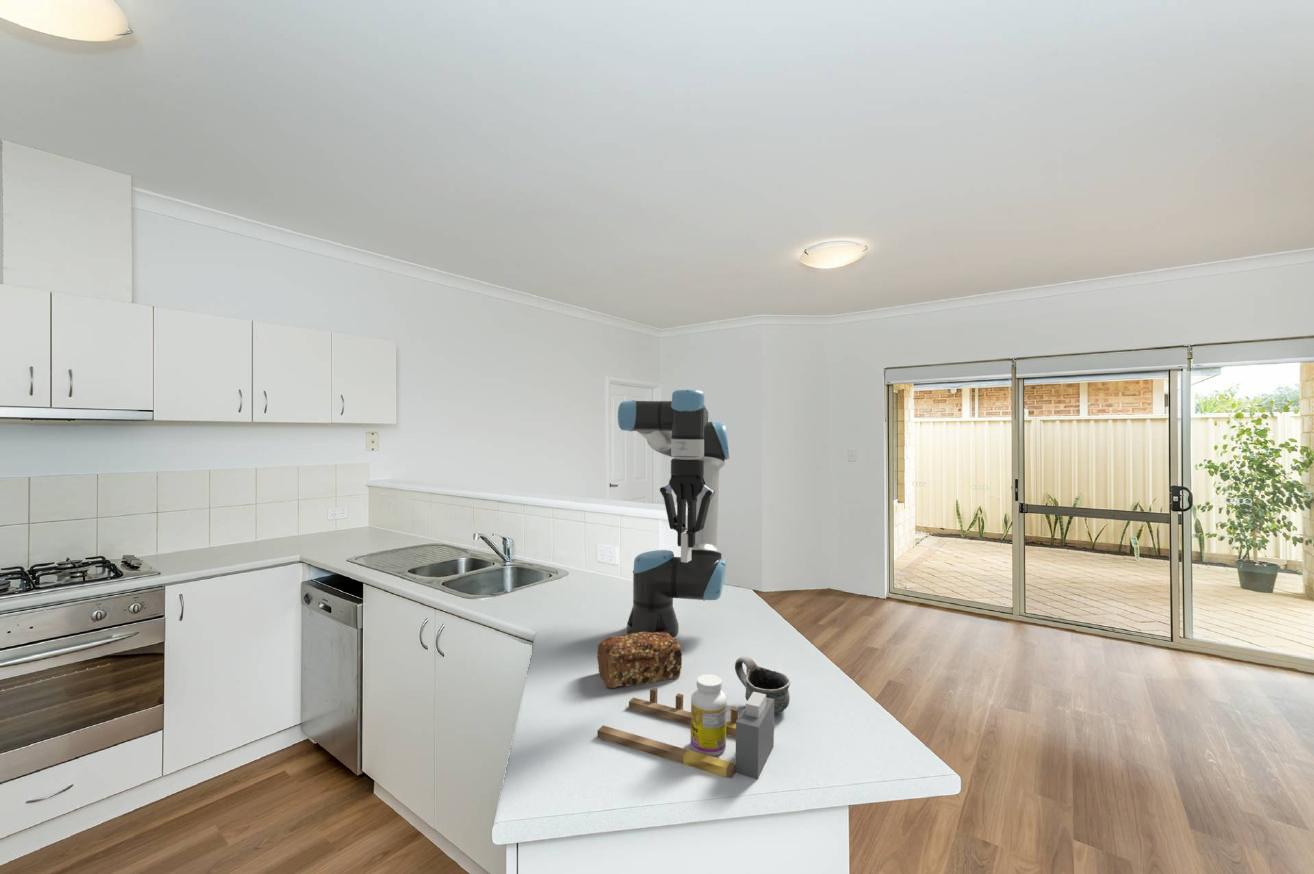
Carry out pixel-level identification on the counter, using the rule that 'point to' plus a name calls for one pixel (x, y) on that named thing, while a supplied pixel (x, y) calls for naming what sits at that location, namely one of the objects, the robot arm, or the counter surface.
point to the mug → (764, 682)
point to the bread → (638, 659)
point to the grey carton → (754, 735)
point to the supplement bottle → (708, 716)
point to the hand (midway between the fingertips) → (686, 560)
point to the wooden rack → (665, 749)
